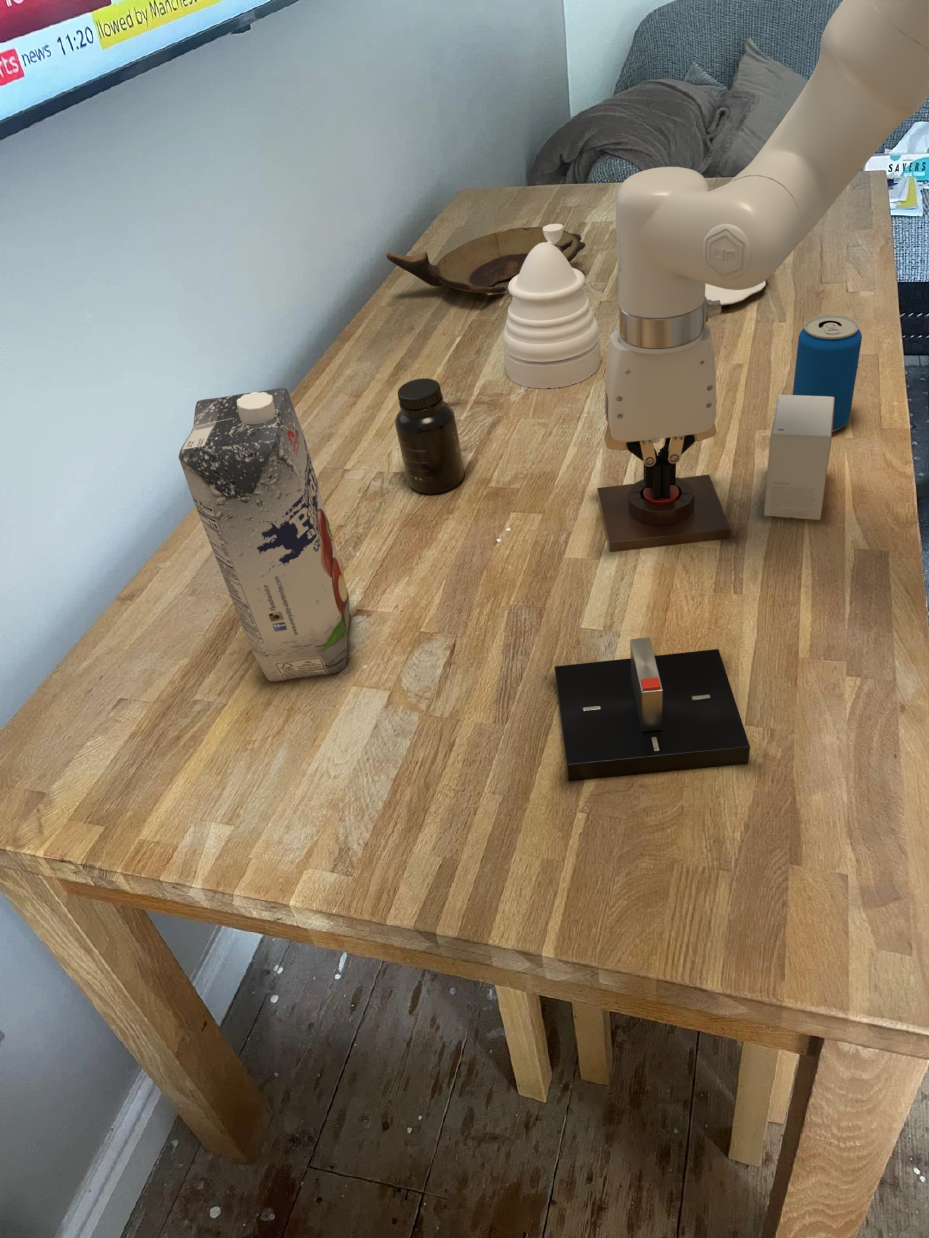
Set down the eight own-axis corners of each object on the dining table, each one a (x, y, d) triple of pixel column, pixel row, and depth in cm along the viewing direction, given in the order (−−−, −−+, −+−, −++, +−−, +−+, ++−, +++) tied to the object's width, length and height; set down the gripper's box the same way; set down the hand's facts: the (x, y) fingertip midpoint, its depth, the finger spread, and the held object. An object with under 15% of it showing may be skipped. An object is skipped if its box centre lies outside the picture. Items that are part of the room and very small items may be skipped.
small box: (819, 528, 95) (832, 437, 88) (761, 523, 97) (770, 433, 90) (824, 483, 100) (836, 395, 93) (769, 480, 102) (777, 392, 95)
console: (717, 673, 82) (718, 647, 80) (747, 772, 73) (750, 745, 71) (556, 690, 83) (554, 664, 81) (569, 789, 74) (566, 763, 72)
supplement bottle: (430, 459, 115) (414, 368, 107) (476, 471, 111) (462, 379, 103) (396, 488, 111) (376, 396, 103) (442, 501, 107) (425, 408, 100)
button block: (708, 491, 102) (709, 459, 99) (729, 546, 95) (731, 513, 92) (597, 504, 103) (596, 473, 100) (609, 560, 95) (608, 528, 93)
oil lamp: (570, 311, 141) (567, 260, 136) (385, 313, 150) (375, 265, 145) (596, 253, 157) (594, 206, 152) (427, 258, 166) (420, 213, 161)
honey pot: (549, 337, 136) (538, 208, 124) (619, 358, 128) (615, 223, 116) (487, 373, 130) (470, 242, 118) (557, 398, 122) (546, 260, 110)
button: (675, 493, 98) (675, 479, 97) (681, 513, 96) (682, 499, 95) (640, 497, 99) (640, 484, 98) (646, 517, 96) (646, 503, 95)
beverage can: (842, 407, 111) (856, 310, 103) (853, 436, 106) (869, 336, 98) (785, 411, 112) (795, 315, 104) (794, 439, 107) (805, 341, 99)
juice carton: (260, 697, 87) (159, 445, 70) (272, 622, 95) (184, 380, 77) (354, 684, 87) (277, 428, 69) (358, 610, 95) (290, 364, 77)
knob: (630, 678, 78) (629, 636, 75) (650, 676, 78) (650, 634, 75) (642, 732, 74) (641, 690, 71) (662, 730, 74) (662, 688, 71)
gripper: (735, 293, 86) (724, 463, 98) (573, 314, 87) (582, 479, 99) (756, 327, 81) (742, 503, 93) (582, 350, 82) (590, 521, 94)
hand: (659, 490), depth 96 cm, fingers closed
